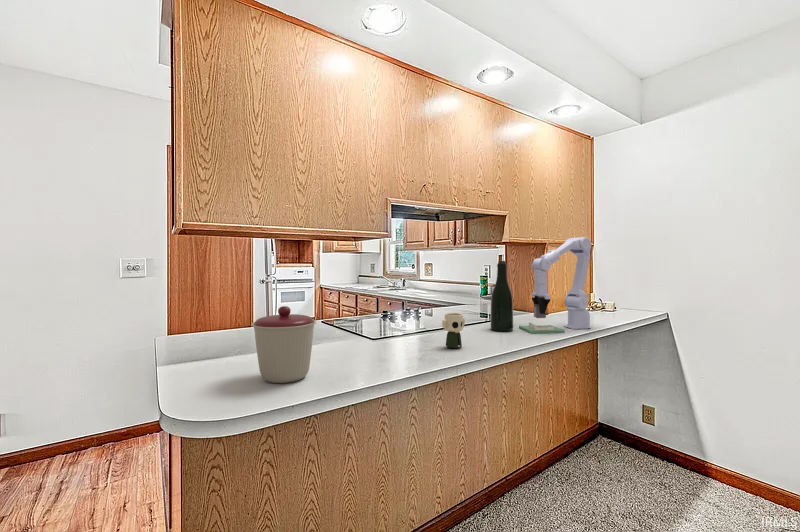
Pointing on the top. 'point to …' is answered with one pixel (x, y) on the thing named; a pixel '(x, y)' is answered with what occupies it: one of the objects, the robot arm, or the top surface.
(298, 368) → the canister
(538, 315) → the plug
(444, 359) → the top surface
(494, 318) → the wine bottle
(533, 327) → the board
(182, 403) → the top surface
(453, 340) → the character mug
